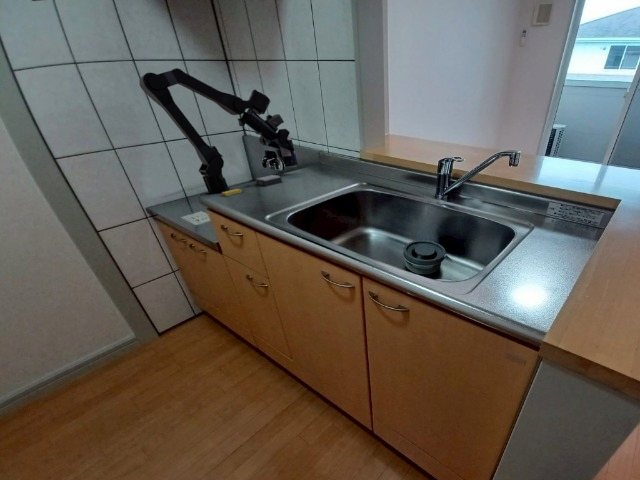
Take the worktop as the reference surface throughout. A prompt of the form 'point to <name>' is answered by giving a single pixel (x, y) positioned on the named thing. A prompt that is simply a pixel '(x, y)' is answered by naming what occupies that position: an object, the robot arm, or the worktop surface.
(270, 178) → the kitchen scale
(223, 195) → the sponge
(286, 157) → the beverage can
